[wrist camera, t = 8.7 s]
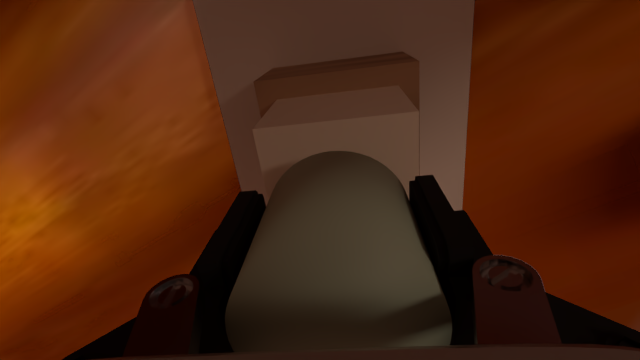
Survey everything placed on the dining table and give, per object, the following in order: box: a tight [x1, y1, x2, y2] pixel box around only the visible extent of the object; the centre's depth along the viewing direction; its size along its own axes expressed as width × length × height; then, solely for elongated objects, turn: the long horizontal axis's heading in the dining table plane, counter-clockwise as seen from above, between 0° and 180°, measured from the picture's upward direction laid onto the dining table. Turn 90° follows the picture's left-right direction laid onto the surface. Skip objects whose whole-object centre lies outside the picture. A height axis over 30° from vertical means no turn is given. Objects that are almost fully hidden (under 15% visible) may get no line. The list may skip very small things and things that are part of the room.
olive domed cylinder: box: [225, 151, 452, 352], centre depth 10 cm, size 5×5×5 cm
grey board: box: [193, 0, 475, 211], centre depth 23 cm, size 18×16×1 cm
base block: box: [254, 52, 420, 176], centre depth 20 cm, size 8×8×5 cm
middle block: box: [252, 85, 419, 201], centre depth 16 cm, size 6×6×5 cm
